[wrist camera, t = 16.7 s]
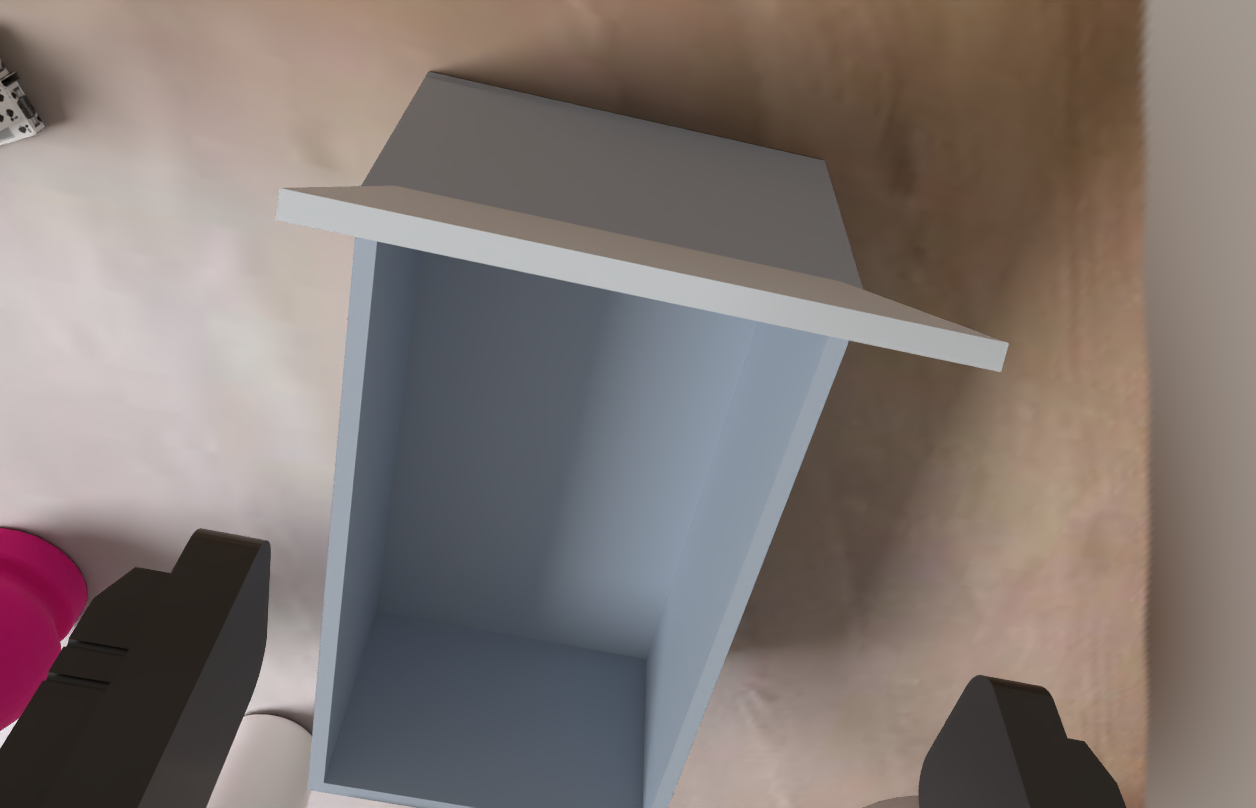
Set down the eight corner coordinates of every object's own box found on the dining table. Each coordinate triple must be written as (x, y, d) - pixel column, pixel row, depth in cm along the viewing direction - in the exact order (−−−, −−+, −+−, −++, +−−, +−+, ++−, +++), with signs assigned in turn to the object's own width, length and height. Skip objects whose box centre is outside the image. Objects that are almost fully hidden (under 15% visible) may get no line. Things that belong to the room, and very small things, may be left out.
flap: (835, 299, 30) (839, 281, 30) (1001, 372, 18) (1009, 342, 18) (391, 204, 29) (394, 185, 28) (274, 219, 17) (279, 187, 17)
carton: (824, 160, 39) (865, 298, 30) (656, 660, 53) (652, 846, 45) (428, 71, 37) (358, 189, 29) (365, 608, 52) (307, 789, 44)
